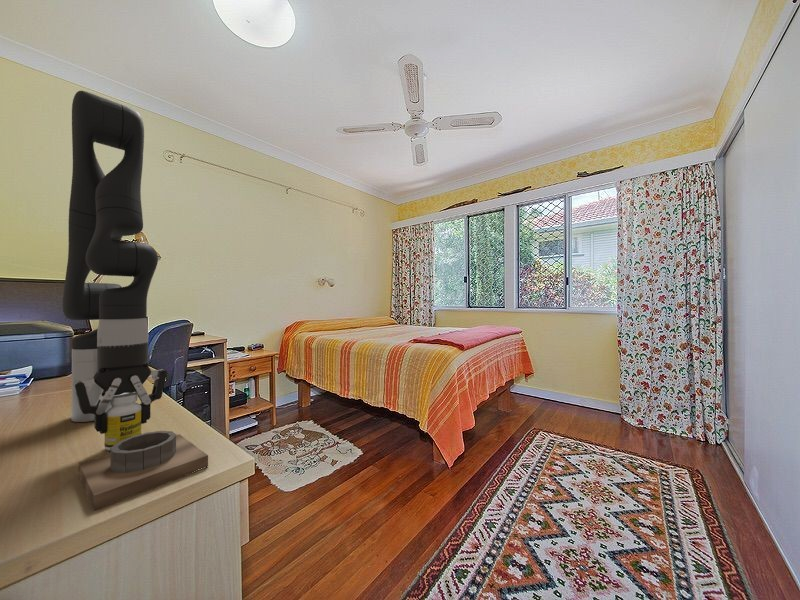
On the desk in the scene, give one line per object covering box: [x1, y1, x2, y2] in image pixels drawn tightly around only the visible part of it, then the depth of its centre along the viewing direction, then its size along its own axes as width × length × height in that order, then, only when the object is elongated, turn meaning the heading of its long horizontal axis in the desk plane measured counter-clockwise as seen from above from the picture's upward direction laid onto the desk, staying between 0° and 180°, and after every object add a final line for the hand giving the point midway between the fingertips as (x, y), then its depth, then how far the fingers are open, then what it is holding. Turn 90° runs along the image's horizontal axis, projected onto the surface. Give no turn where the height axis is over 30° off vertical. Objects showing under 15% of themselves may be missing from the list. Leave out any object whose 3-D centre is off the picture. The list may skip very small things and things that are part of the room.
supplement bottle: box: [104, 392, 142, 451], centre depth 61 cm, size 5×5×10 cm
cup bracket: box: [78, 430, 209, 511], centre depth 52 cm, size 14×14×5 cm
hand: (123, 427), depth 61 cm, fingers closed on supplement bottle, 5 cm apart
